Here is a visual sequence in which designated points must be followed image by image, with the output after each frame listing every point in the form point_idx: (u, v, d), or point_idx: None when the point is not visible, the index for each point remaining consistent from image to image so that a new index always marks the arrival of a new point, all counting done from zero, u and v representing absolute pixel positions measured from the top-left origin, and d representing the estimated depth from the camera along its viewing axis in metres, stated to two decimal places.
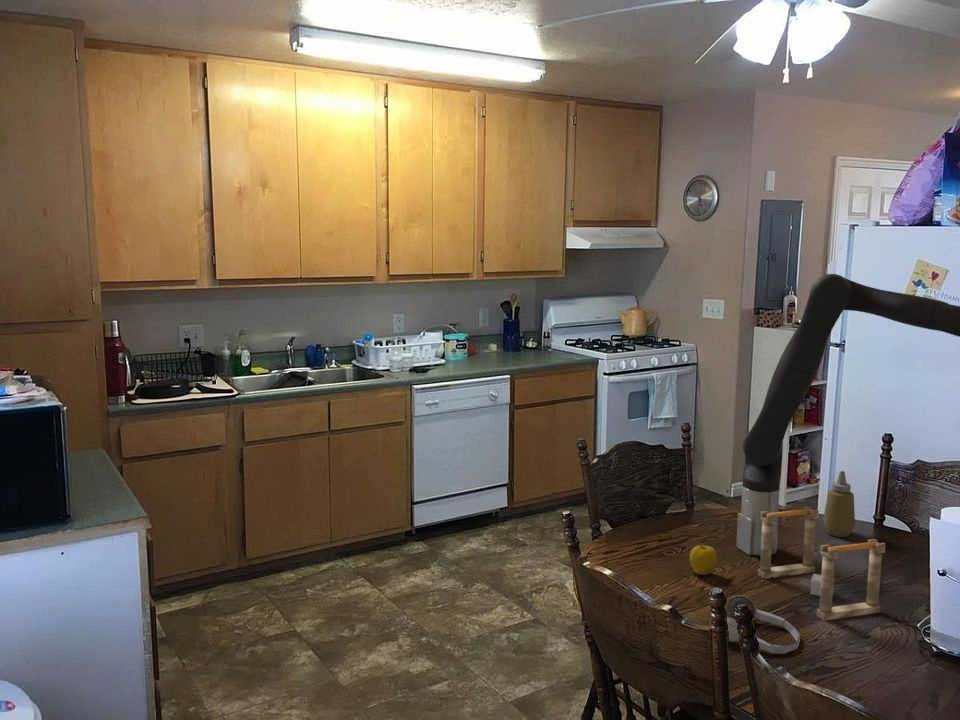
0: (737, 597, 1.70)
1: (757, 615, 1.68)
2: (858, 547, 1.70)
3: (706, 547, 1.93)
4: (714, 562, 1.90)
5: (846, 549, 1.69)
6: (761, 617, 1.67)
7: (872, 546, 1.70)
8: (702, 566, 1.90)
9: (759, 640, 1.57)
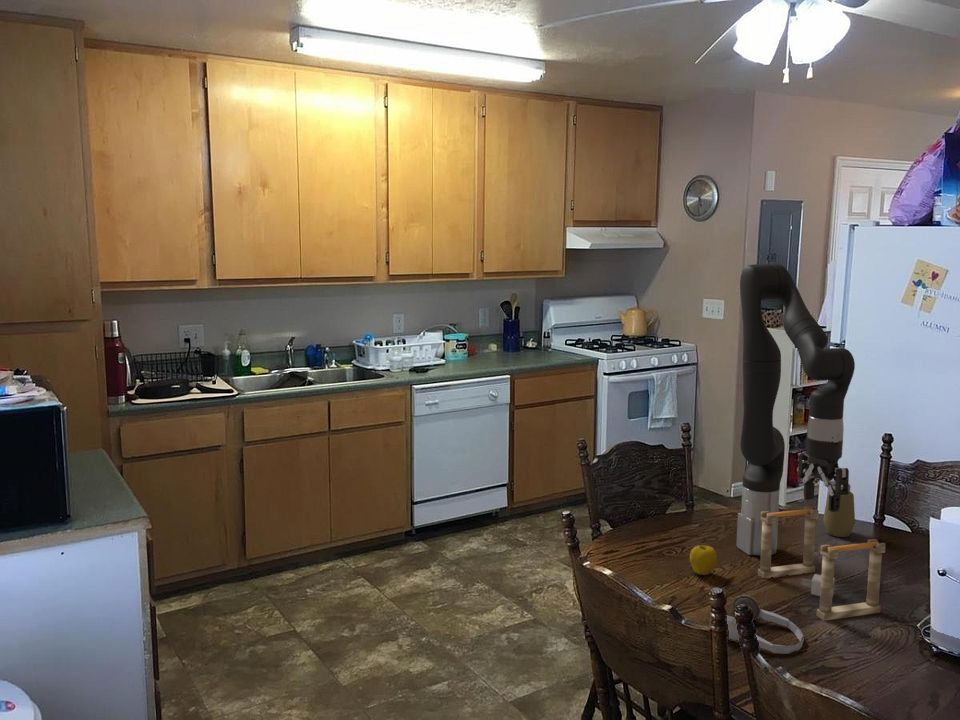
0: (742, 597, 1.70)
1: (761, 615, 1.68)
2: (858, 547, 1.70)
3: (706, 547, 1.93)
4: (714, 562, 1.90)
5: (846, 549, 1.69)
6: (765, 617, 1.67)
7: (872, 546, 1.70)
8: (702, 566, 1.90)
9: (761, 640, 1.57)
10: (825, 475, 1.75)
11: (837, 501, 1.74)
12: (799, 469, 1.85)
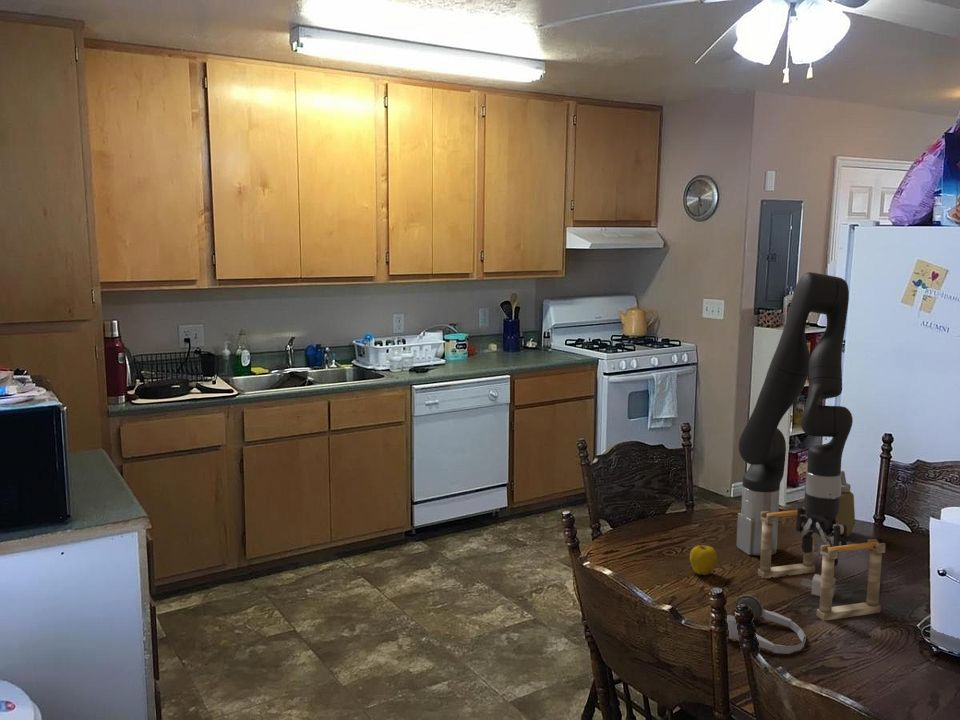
0: (744, 596, 1.70)
1: (764, 615, 1.68)
2: (858, 547, 1.70)
3: (706, 547, 1.93)
4: (714, 562, 1.90)
5: (846, 549, 1.69)
6: (768, 617, 1.67)
7: (872, 546, 1.70)
8: (702, 566, 1.90)
9: (763, 639, 1.57)
10: (823, 531, 1.77)
11: None
12: (797, 522, 1.87)
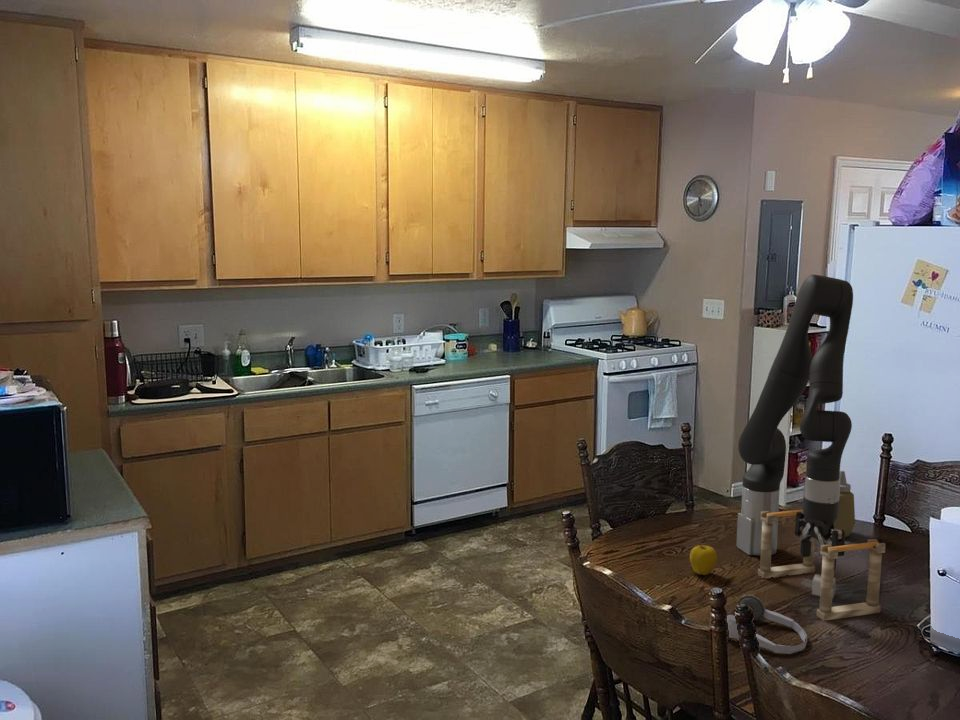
0: (746, 596, 1.70)
1: (766, 615, 1.68)
2: (858, 547, 1.70)
3: (706, 547, 1.93)
4: (714, 562, 1.90)
5: (846, 549, 1.69)
6: (770, 617, 1.67)
7: (872, 546, 1.70)
8: (702, 566, 1.90)
9: (764, 639, 1.57)
10: (821, 535, 1.77)
11: None
12: (796, 526, 1.87)
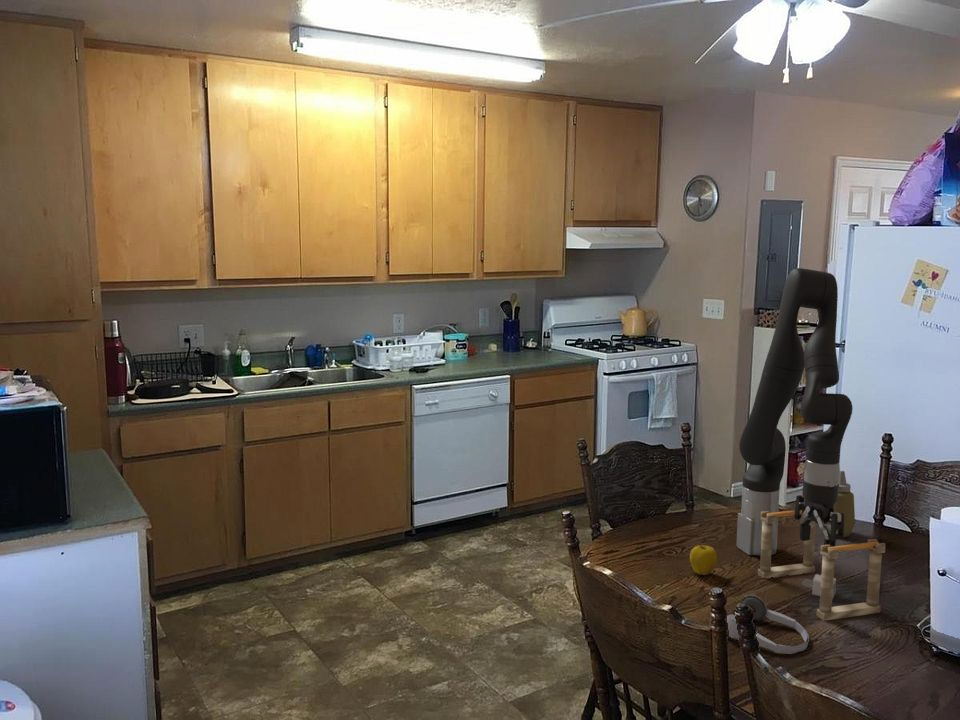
0: (749, 596, 1.70)
1: (768, 615, 1.68)
2: (858, 547, 1.70)
3: (706, 547, 1.93)
4: (714, 562, 1.90)
5: (846, 549, 1.69)
6: (772, 617, 1.67)
7: (872, 546, 1.70)
8: (702, 566, 1.90)
9: (765, 639, 1.57)
10: (821, 519, 1.77)
11: (832, 545, 1.76)
12: (796, 510, 1.86)
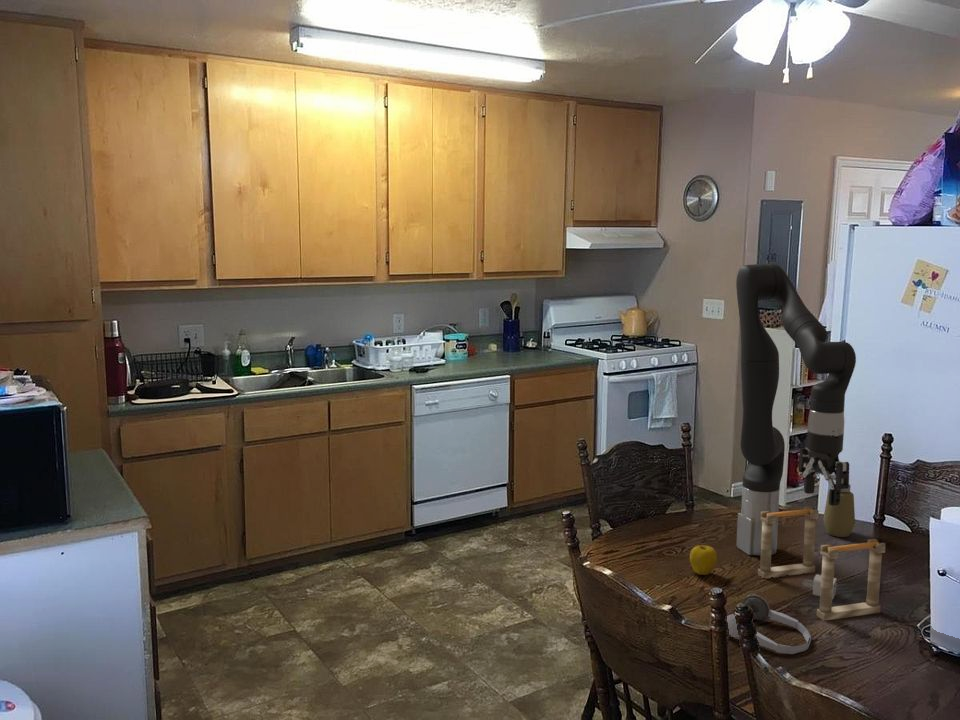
0: (751, 596, 1.70)
1: (771, 615, 1.68)
2: (858, 547, 1.70)
3: (706, 547, 1.93)
4: (714, 562, 1.90)
5: (846, 549, 1.69)
6: (774, 617, 1.67)
7: (872, 546, 1.70)
8: (702, 566, 1.90)
9: (766, 639, 1.57)
10: (825, 469, 1.75)
11: (837, 495, 1.74)
12: (799, 463, 1.84)
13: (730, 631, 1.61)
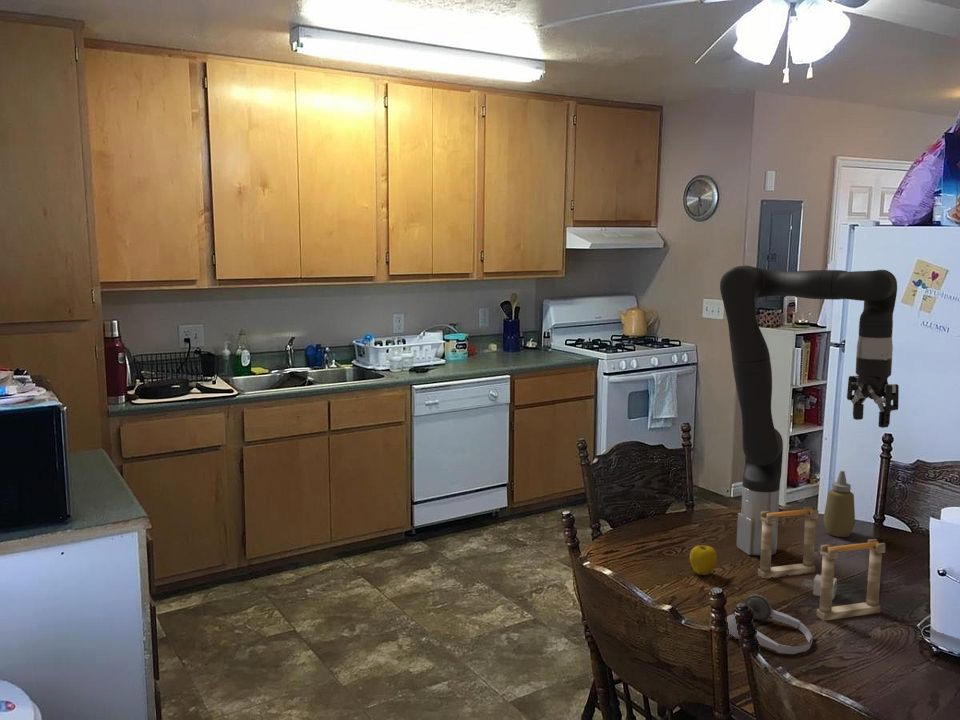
0: (753, 596, 1.70)
1: (773, 615, 1.68)
2: (858, 547, 1.70)
3: (706, 547, 1.93)
4: (714, 562, 1.90)
5: (846, 549, 1.69)
6: (776, 618, 1.67)
7: (872, 546, 1.70)
8: (702, 566, 1.90)
9: (767, 639, 1.57)
10: (875, 392, 1.82)
11: (887, 417, 1.81)
12: (848, 391, 1.91)
13: (731, 631, 1.61)
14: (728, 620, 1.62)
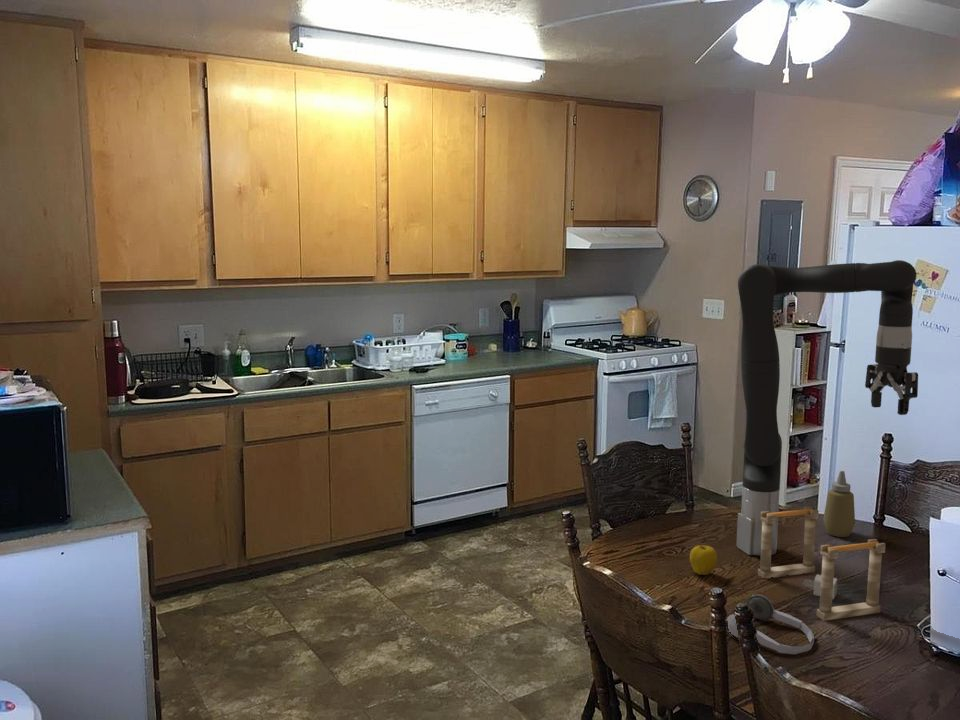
0: (755, 596, 1.70)
1: (775, 615, 1.68)
2: (858, 547, 1.70)
3: (706, 547, 1.93)
4: (714, 562, 1.90)
5: (846, 549, 1.69)
6: (778, 618, 1.67)
7: (872, 546, 1.70)
8: (702, 566, 1.90)
9: (768, 639, 1.57)
10: (894, 380, 1.86)
11: (906, 404, 1.85)
12: (867, 379, 1.95)
13: (732, 630, 1.61)
14: (729, 620, 1.62)
